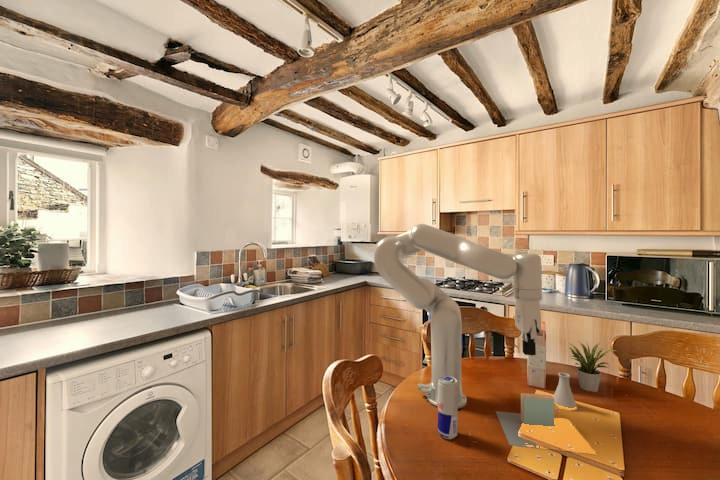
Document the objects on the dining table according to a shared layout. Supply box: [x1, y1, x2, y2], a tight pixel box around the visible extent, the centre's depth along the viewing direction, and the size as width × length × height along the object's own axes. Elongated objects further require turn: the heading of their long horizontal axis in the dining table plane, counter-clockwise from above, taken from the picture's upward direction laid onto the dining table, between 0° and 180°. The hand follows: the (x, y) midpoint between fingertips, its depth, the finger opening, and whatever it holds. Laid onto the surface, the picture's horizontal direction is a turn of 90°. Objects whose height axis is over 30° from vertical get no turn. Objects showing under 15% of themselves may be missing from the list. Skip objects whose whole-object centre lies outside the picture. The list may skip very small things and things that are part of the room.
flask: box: [552, 372, 578, 408], centre depth 98 cm, size 7×7×10 cm
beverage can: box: [437, 376, 459, 440], centre depth 84 cm, size 5×5×15 cm
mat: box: [495, 410, 540, 449], centre depth 85 cm, size 20×16×1 cm
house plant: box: [568, 340, 617, 393], centre depth 110 cm, size 14×14×16 cm
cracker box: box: [527, 320, 547, 390], centre depth 116 cm, size 14×6×21 cm, turn 150°
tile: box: [520, 392, 555, 426], centre depth 88 cm, size 8×2×8 cm, turn 78°
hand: (529, 353), depth 95 cm, fingers closed
